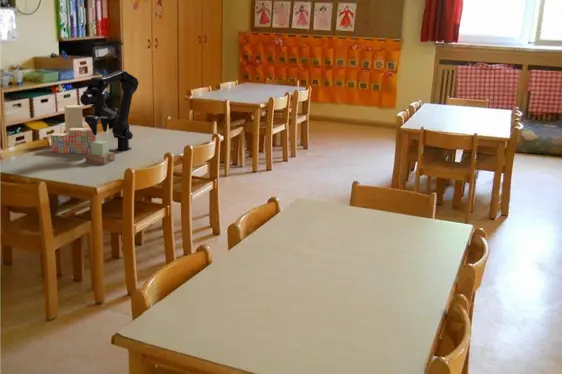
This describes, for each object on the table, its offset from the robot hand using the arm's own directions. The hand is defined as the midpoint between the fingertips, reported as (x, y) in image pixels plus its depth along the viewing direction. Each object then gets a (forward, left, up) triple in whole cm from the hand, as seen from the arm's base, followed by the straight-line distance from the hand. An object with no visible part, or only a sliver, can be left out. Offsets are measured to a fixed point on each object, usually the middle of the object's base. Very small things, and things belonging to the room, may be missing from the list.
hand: (100, 133), depth 306 cm
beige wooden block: (-17, -26, -12) cm, 33 cm away
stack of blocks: (-3, -17, -12) cm, 21 cm away
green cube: (+9, +5, -8) cm, 13 cm away
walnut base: (+9, +5, -12) cm, 16 cm away
